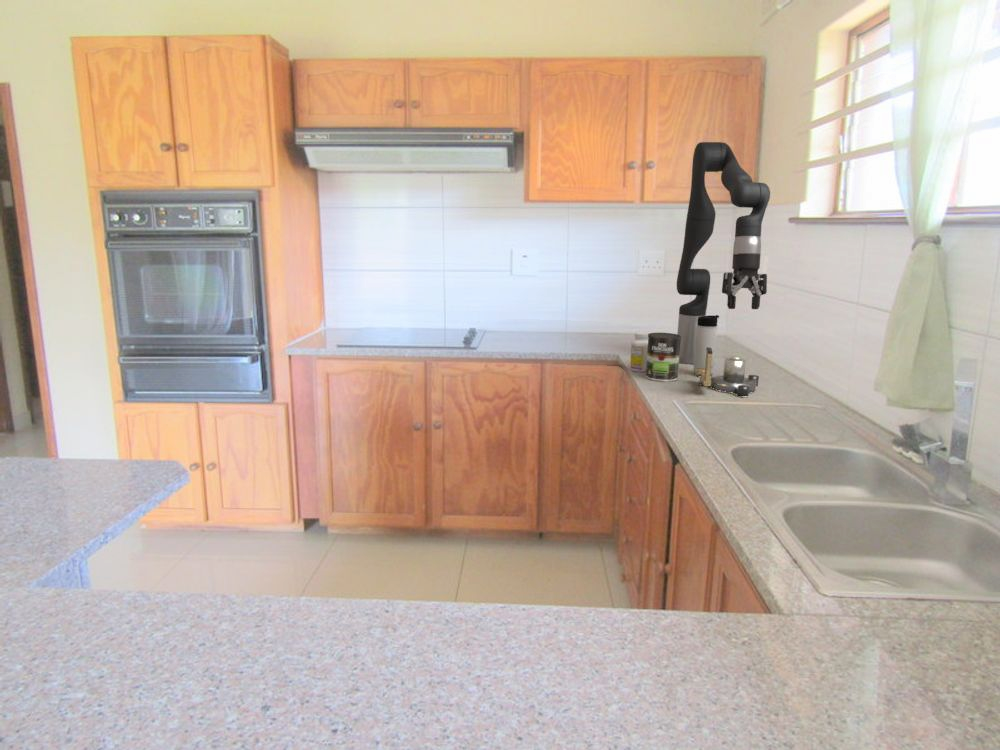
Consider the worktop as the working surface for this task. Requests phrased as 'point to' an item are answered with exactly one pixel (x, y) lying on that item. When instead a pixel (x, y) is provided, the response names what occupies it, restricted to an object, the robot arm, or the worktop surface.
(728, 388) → the levelling base
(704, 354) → the travel mug
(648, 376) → the coffee can
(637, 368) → the supplement bottle
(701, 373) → the lever
